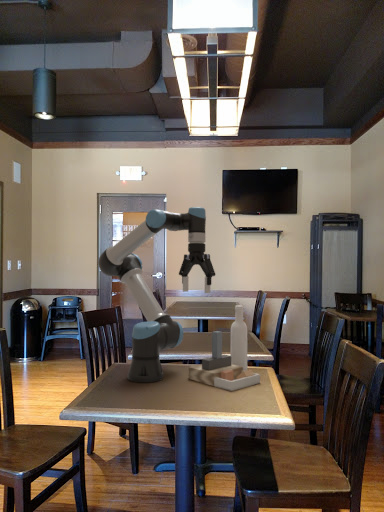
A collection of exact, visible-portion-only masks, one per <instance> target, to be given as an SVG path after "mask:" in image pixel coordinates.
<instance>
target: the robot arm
mask: <svg viewBox="0 0 384 512" xmlns="http://www.w3.org/2000/svg"><path fill="white" fill-rule="evenodd" d="M206 220H207V216H206V209H205V207H202V206H192V207H189V208H188V211H187V212H186V213H185V212H183V213H178V212H172V211H171V212H170V211H167V210H162V209H150V210H149V211H148V212H147V214H146V216H145V220H144V221H142V223H140V224H139V225H137V226H136V227H135V228H134V229H133V230H132V231H130V232H129V233H128V234H127V235H126V236H124V237H123V238H121V240H119V241H118V242H117V243H116V244H114V245H113V246H108V247H107V248H106V249H105V250H104V251H103V252H102V253H101V254H100V256H99V258H98V263H97V264H98V268H99V270H100V271H101V273H102V274H104V275H105V276H109V277H118V279H119V280H120V283H122V284H123V285H124V284H125V285H126V286H127V289H128V290H129V292H130V293H131V295H132V297H133V298H134V300H135V302H136V304H137V306H138V308H139V309H140V311H141V313H142V314H143V316H144V317H145V319H146V321H141V322H138V323H136V324H135V325H133V328H132V333H131V340H132V341H131V342H132V343H131V346H132V347H131V362H130V365H129V368H128V372H127V379H128V380H129V381H131V382H135V383H155V382H159V381H162V380H163V379H164V370H163V367H162V364H161V361H160V351H163V350H168V349H173V348H176V347H178V346H180V344H181V343H182V342H183V340H184V334H185V333H184V327H183V325H182V324H181V323H180V322H178V321H175V320H173V319H172V317H171V316H170V314H168V313H165V312H164V309H162V307H161V305H160V303H159V301H158V300H157V299H156V297H155V295H154V294H153V292H152V289H150V287H149V286H148V284H147V282H146V280H145V278H144V277H143V275H142V274H143V266H142V265H143V262H142V259H141V258H140V256H138V254H135V253H133V252H135V251H136V250H137V249H139V248H140V247H141V246H143V245H144V244H145V243H146V242H147V241H149V240H150V239H151V238H153V237H154V236H155V235H156V234H158V233H160V231H162V230H163V229H165V230H168V231H170V232H178V231H187V232H188V233H187V234H188V236H187V240H188V241H187V242H188V244H187V252H188V253H189V254H183V261H182V263H181V266H180V269H179V272H178V275H179V276H181V277H182V278H181V284H182V292H189V278H190V277H189V276H188V275H189V274H190V272H191V270H192V269H193V267H194V266H195V265H196V266H197V265H198V266H199V267H200V268H201V270H202V271H203V274H204V275H205V277H204V294H211V286H212V277H215V276H216V271H215V269H214V267H213V266H214V265H213V264H212V261H211V255H210V253H206V244H205V243H206V224H207V223H206V222H207V221H206Z"/></svg>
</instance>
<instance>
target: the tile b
mask: <svg viewBox="0 0 384 512" xmlns="http://www.w3.org/2000/svg"><path fill="white" fill-rule="evenodd" d="M254 373H255V372H253V370H252V368H250V369H247V370H246V371H243V372H242V373H241V374H239V375H238V376H237V377H236V378H237V379H241V378H244V377H248V376H252V375H254Z"/></svg>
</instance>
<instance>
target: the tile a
mask: <svg viewBox="0 0 384 512" xmlns="http://www.w3.org/2000/svg"><path fill="white" fill-rule="evenodd" d="M221 379H225V380H229V381H233V380H234V371H233V370H226V371H221Z"/></svg>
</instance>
